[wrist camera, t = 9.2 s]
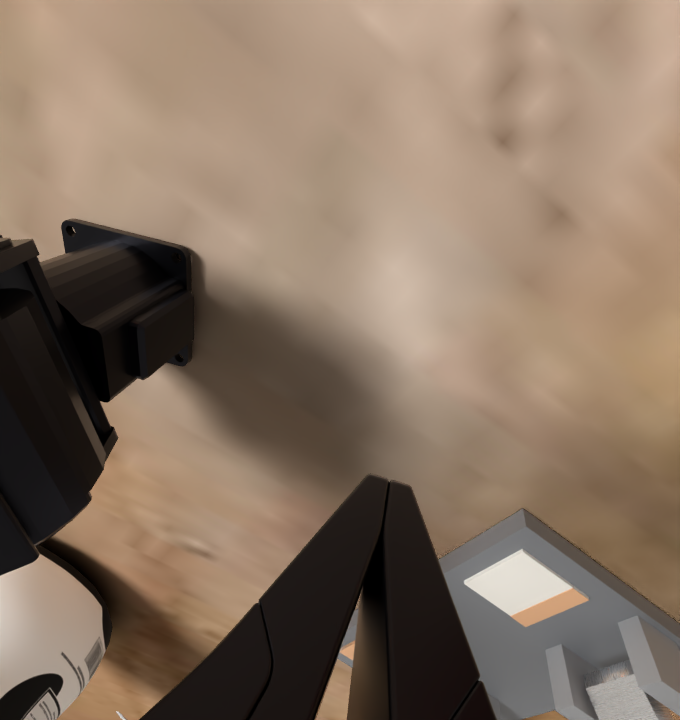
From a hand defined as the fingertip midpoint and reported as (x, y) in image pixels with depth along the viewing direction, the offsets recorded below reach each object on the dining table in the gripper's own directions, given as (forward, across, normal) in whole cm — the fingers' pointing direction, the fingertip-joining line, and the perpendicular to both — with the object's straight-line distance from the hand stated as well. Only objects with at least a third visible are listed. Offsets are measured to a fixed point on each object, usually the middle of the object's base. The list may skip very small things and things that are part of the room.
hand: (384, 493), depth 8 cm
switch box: (+12, -10, +23) cm, 28 cm away
